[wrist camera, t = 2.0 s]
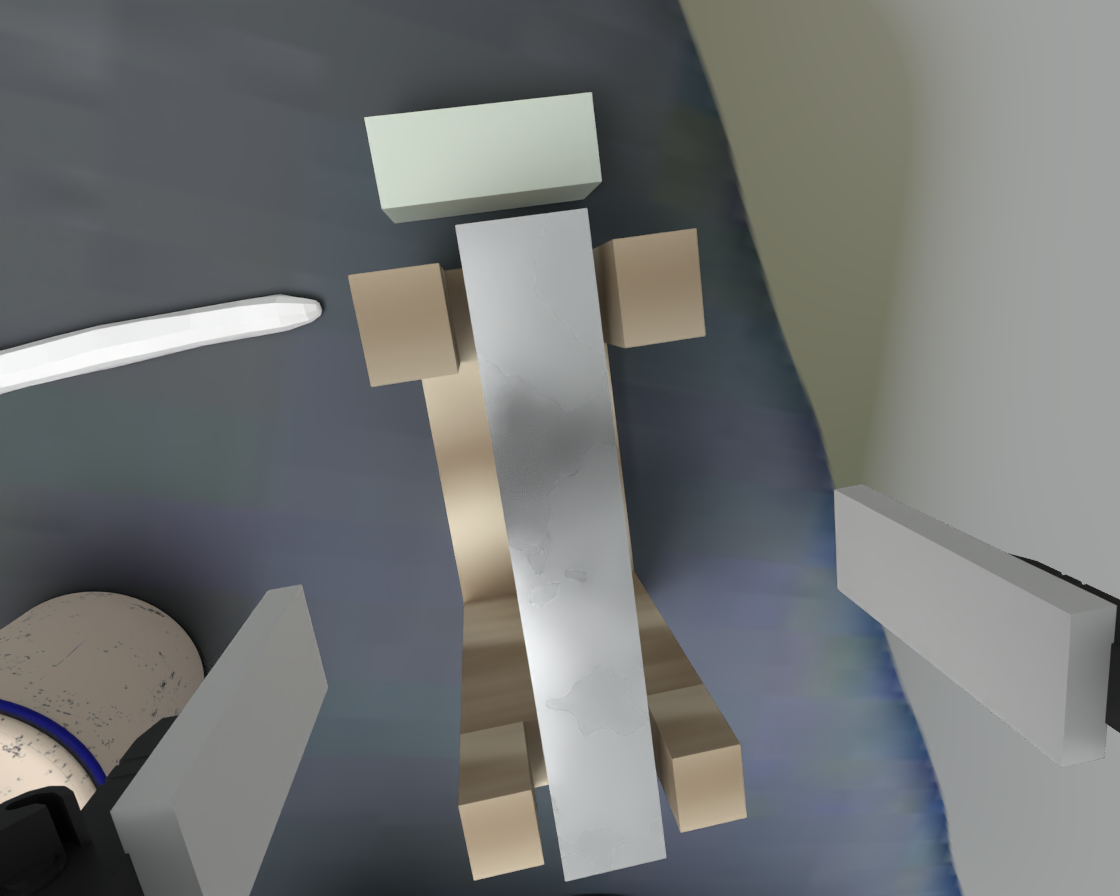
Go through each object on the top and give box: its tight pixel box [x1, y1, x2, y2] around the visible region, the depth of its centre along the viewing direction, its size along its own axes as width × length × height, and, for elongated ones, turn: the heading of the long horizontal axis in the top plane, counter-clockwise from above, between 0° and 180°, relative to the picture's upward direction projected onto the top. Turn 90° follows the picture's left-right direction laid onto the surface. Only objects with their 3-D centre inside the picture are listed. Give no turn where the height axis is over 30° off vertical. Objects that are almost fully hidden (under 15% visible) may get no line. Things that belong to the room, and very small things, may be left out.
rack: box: [348, 228, 747, 881], centre depth 23 cm, size 16×8×14 cm, turn 8°
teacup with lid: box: [0, 592, 204, 810], centre depth 24 cm, size 12×9×12 cm
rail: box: [455, 208, 666, 882], centre depth 18 cm, size 18×3×3 cm, turn 8°
